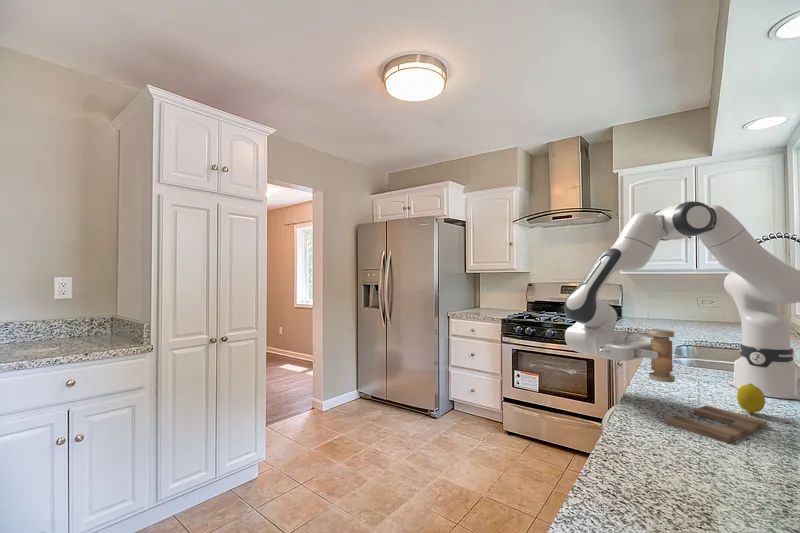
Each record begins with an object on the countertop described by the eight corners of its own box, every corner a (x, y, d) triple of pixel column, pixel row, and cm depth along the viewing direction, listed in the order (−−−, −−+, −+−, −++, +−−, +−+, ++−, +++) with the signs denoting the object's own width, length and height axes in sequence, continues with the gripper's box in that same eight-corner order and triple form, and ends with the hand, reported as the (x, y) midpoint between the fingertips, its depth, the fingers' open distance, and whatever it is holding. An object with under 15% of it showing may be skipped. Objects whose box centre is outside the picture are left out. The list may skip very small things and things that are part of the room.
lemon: (759, 419, 99) (759, 387, 99) (732, 412, 103) (732, 382, 104) (769, 415, 101) (768, 384, 101) (742, 408, 106) (742, 379, 106)
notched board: (706, 409, 105) (706, 405, 105) (766, 426, 94) (766, 421, 94) (666, 423, 95) (666, 418, 95) (728, 443, 85) (728, 437, 85)
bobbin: (656, 375, 109) (655, 328, 109) (679, 380, 104) (678, 331, 104) (644, 378, 106) (644, 330, 106) (667, 383, 101) (667, 333, 101)
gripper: (593, 338, 112) (642, 346, 99) (634, 332, 121) (684, 338, 109) (593, 360, 112) (643, 370, 99) (635, 352, 121) (684, 361, 109)
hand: (665, 354), depth 104 cm, fingers closed on bobbin, 5 cm apart
